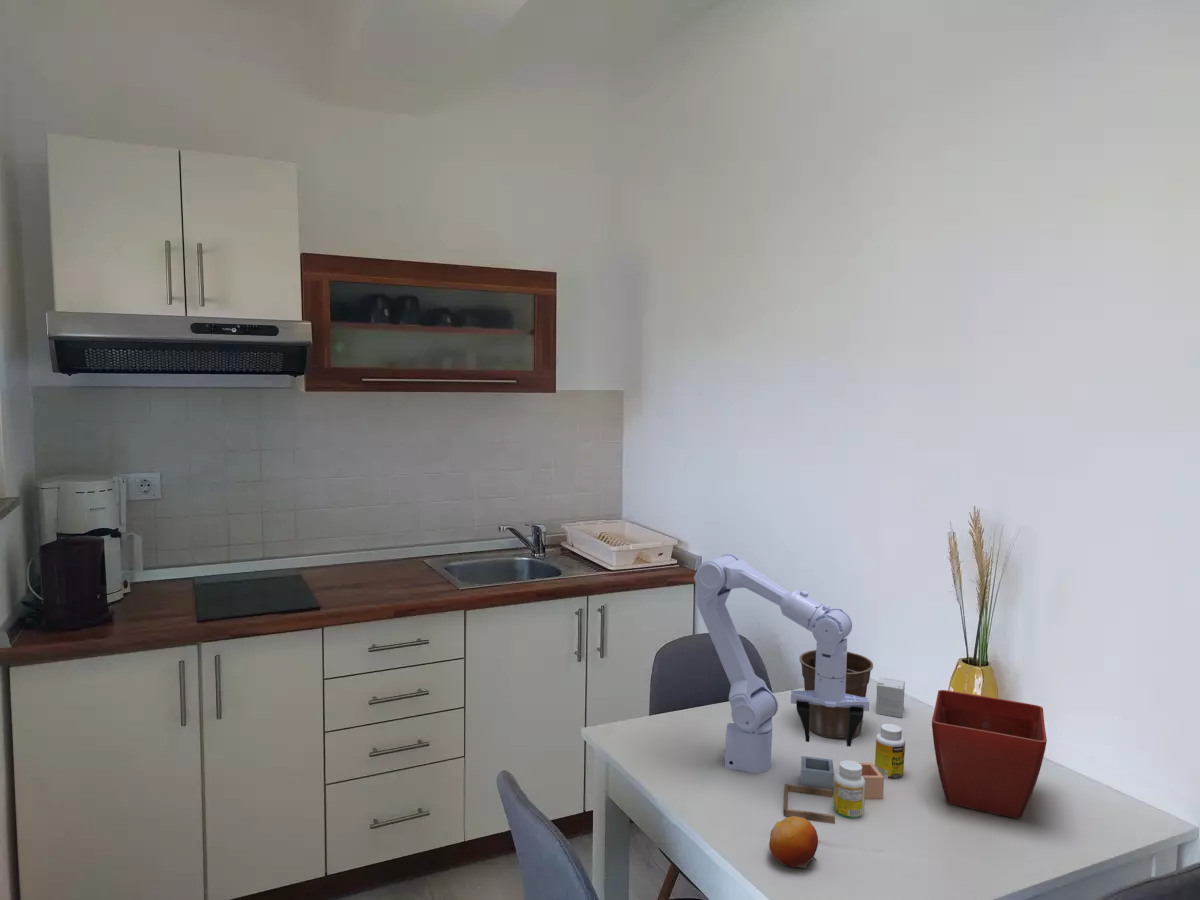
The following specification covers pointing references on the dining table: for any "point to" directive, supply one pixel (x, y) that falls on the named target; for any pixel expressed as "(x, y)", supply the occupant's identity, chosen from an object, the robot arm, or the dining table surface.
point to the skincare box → (890, 697)
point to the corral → (805, 814)
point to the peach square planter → (872, 781)
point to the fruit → (793, 841)
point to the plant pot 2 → (988, 751)
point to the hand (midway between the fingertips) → (827, 742)
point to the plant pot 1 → (857, 678)
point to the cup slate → (817, 772)
